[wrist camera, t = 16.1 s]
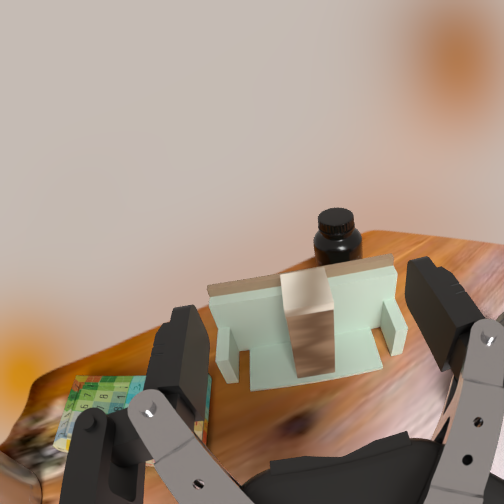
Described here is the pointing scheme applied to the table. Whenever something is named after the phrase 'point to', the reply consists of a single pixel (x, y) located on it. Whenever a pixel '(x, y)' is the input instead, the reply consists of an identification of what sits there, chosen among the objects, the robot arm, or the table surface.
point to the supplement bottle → (337, 238)
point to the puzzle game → (109, 403)
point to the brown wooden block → (310, 321)
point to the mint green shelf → (276, 329)
